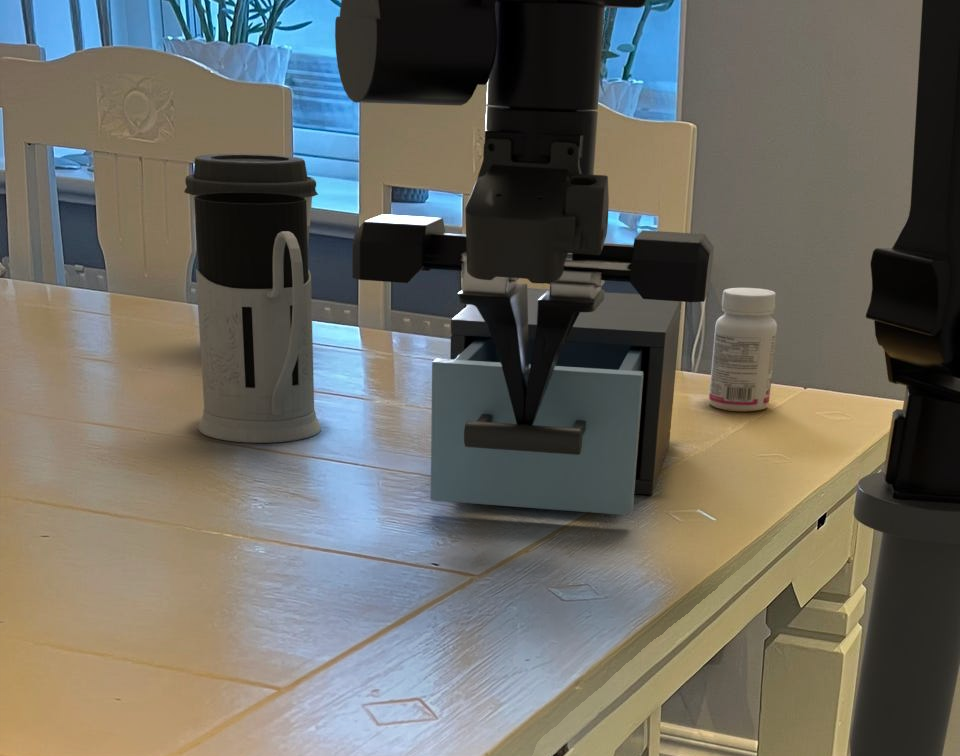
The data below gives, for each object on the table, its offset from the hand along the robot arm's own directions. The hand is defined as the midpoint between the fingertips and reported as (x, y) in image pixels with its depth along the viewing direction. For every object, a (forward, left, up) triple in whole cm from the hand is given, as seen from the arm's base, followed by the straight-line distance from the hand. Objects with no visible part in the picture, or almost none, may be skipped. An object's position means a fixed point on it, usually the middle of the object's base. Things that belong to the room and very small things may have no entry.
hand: (525, 425), depth 89 cm
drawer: (0, -8, -5) cm, 9 cm away
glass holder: (+21, -20, -7) cm, 30 cm away
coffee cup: (+32, -53, -7) cm, 63 cm away
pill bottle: (-11, -41, -7) cm, 43 cm away
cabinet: (0, -19, -6) cm, 20 cm away
